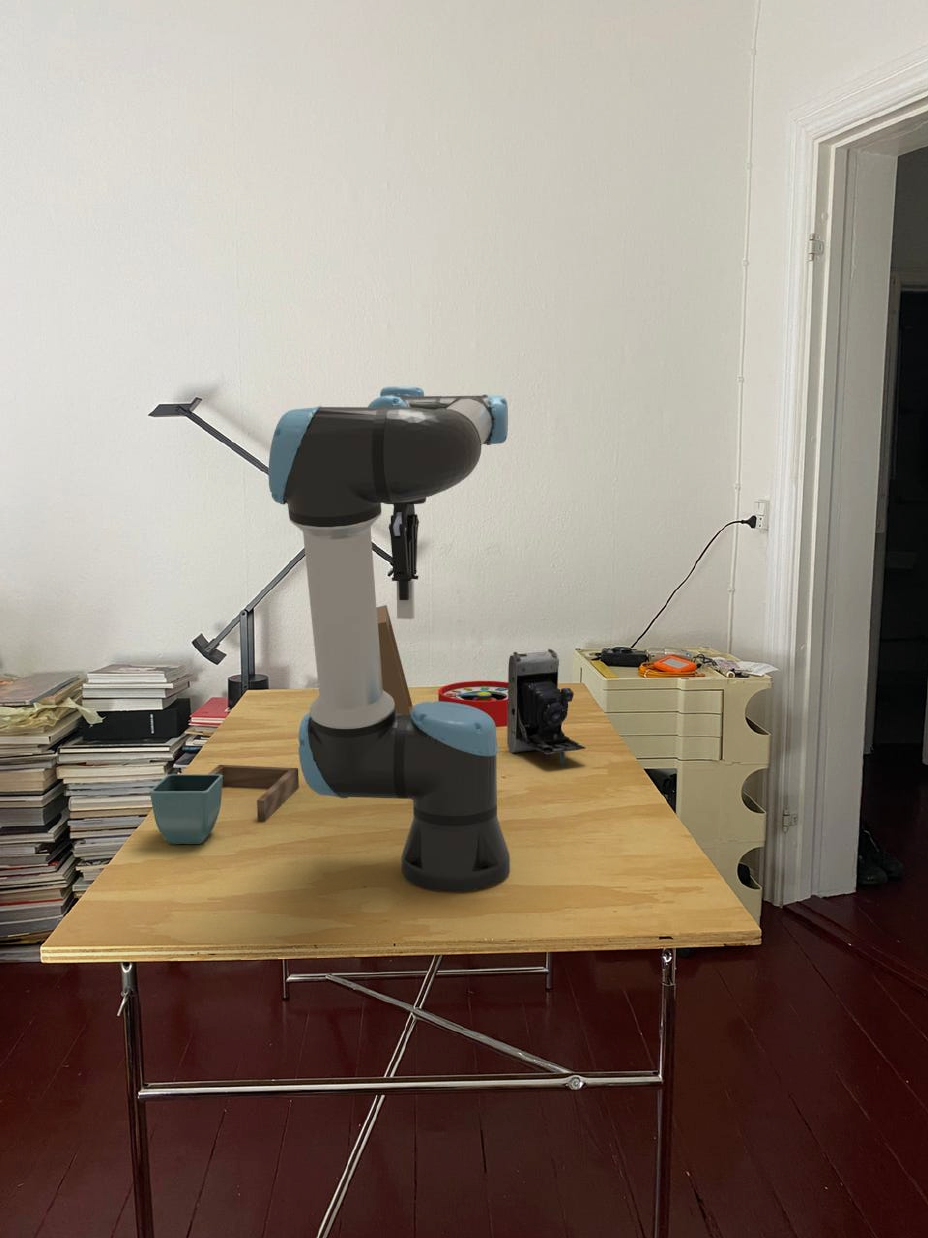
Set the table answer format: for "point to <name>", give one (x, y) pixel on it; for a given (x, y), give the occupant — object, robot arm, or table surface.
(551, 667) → the vintage camera
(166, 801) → the flower pot
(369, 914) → the table surface
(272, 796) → the wooden tray rim
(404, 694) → the photo frame
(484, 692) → the toy clock
